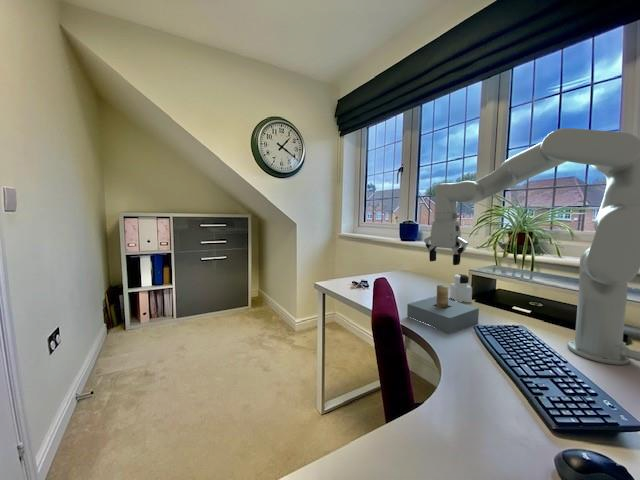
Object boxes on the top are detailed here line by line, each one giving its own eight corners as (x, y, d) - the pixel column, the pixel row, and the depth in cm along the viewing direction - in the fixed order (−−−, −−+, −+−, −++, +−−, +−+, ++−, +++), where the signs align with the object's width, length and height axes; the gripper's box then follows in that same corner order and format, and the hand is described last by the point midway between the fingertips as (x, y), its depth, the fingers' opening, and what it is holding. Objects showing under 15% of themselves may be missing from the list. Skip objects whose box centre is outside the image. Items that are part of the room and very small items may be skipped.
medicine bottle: (465, 297, 133) (466, 273, 132) (471, 302, 126) (472, 276, 125) (449, 297, 134) (450, 273, 133) (455, 302, 127) (456, 276, 125)
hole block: (478, 322, 103) (478, 308, 103) (449, 333, 94) (449, 318, 93) (435, 308, 118) (436, 296, 118) (407, 317, 109) (407, 303, 108)
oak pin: (449, 317, 105) (450, 286, 104) (443, 319, 103) (444, 288, 102) (440, 314, 109) (441, 284, 108) (434, 316, 107) (434, 286, 105)
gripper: (474, 217, 97) (472, 265, 99) (431, 217, 112) (430, 259, 113) (462, 217, 93) (460, 267, 95) (419, 217, 108) (418, 260, 109)
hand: (444, 262), depth 104 cm, fingers open, 9 cm apart
